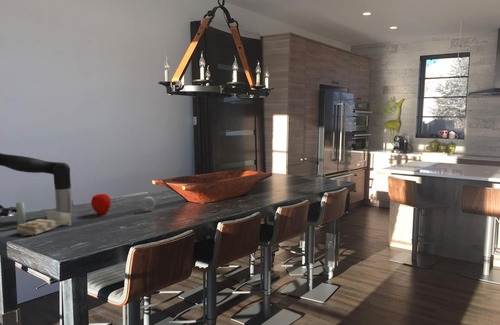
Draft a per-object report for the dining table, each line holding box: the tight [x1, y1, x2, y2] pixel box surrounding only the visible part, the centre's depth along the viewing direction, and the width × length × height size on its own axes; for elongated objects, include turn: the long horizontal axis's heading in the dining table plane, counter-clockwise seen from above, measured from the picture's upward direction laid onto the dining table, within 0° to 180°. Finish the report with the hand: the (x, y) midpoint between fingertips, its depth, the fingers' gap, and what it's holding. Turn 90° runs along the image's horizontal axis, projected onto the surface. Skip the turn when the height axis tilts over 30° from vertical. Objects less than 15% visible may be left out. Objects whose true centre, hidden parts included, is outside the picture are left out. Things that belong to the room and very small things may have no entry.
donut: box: [140, 196, 156, 212], centre depth 265 cm, size 10×4×10 cm, turn 130°
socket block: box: [16, 218, 57, 236], centre depth 220 cm, size 14×12×4 cm
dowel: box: [15, 201, 26, 225], centre depth 228 cm, size 4×4×14 cm
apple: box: [90, 193, 112, 216], centre depth 257 cm, size 12×12×13 cm
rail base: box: [18, 210, 72, 236], centre depth 224 cm, size 25×16×7 cm, turn 162°
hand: (14, 212), depth 229 cm, fingers open, 8 cm apart
